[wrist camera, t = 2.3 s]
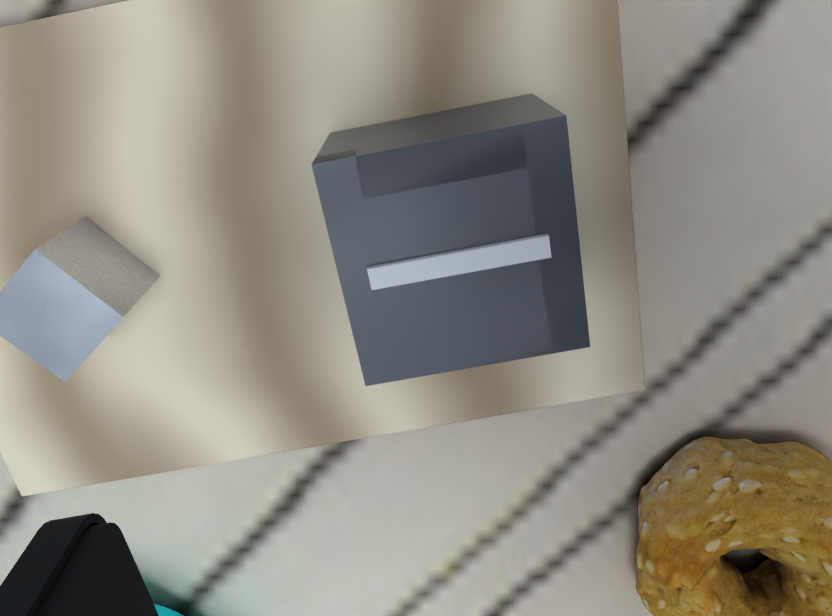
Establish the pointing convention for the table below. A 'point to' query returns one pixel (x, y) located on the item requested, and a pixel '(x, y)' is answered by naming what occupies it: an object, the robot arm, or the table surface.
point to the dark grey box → (455, 237)
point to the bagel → (737, 531)
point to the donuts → (166, 611)
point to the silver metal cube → (71, 296)
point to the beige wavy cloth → (275, 217)
